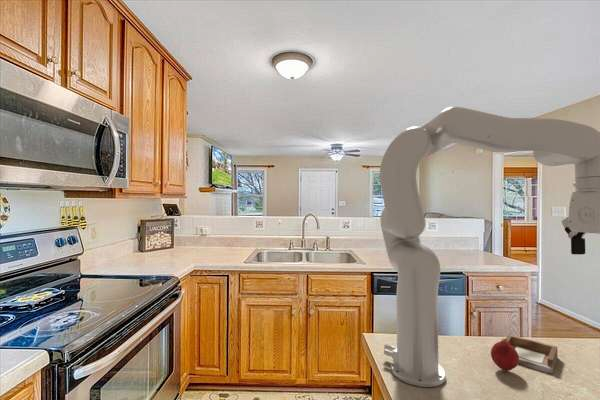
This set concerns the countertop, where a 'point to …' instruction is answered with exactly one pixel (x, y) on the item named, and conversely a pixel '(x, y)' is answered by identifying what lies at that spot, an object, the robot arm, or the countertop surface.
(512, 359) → the onion
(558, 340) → the countertop surface
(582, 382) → the countertop surface
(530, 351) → the tray
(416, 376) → the robot arm
